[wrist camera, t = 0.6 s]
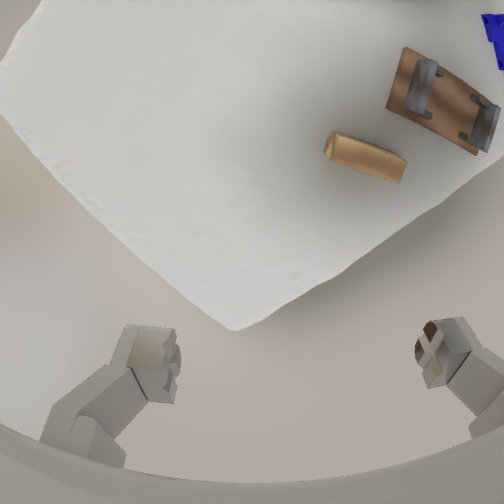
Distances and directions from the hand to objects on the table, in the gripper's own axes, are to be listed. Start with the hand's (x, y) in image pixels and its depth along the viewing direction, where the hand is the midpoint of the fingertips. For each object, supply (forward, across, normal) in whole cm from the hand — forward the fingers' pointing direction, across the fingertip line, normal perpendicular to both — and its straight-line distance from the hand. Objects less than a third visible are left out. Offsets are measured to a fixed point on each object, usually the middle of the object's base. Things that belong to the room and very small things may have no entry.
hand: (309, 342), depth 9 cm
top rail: (+42, -16, +3) cm, 45 cm away
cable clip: (+42, -46, -26) cm, 68 cm away
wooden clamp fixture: (+42, -32, -8) cm, 54 cm away
